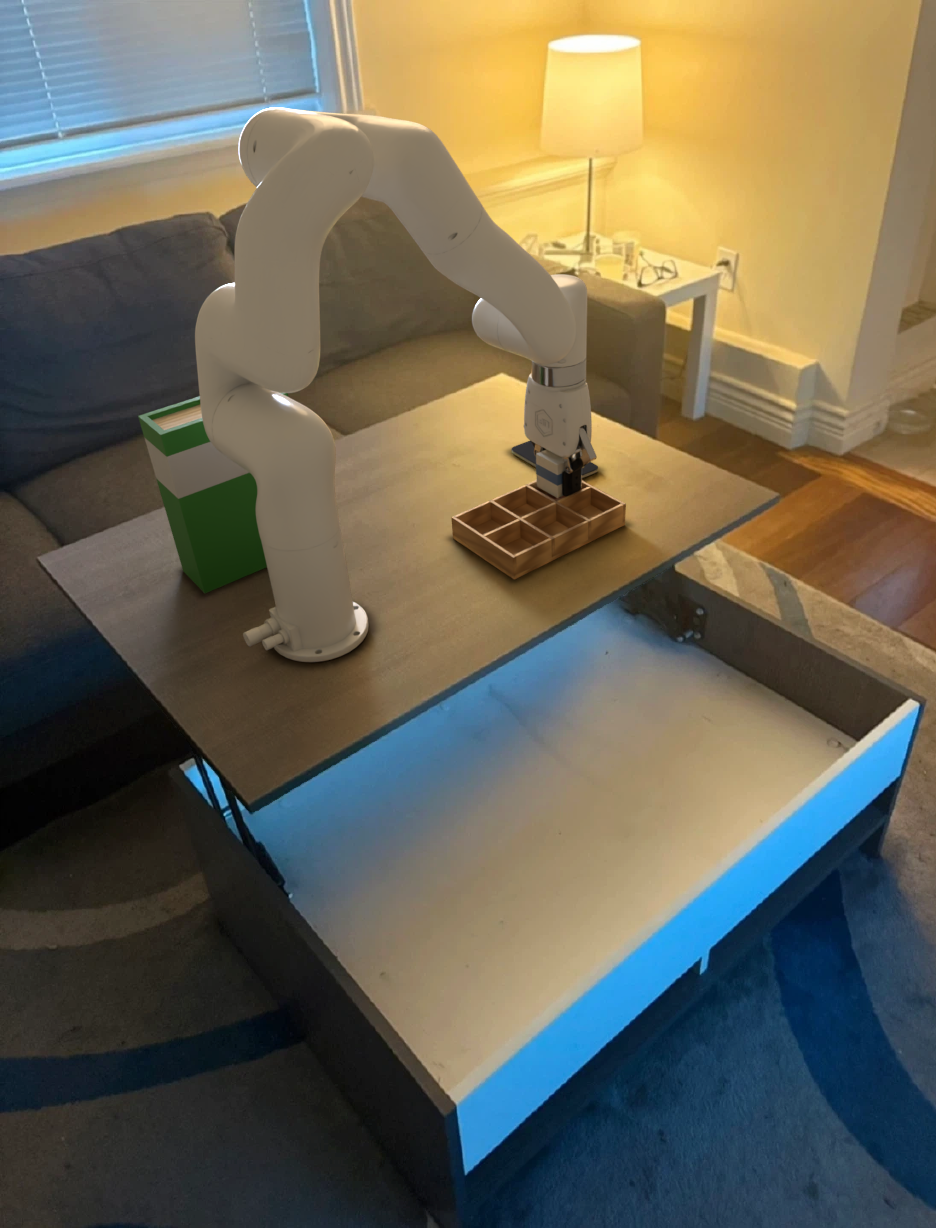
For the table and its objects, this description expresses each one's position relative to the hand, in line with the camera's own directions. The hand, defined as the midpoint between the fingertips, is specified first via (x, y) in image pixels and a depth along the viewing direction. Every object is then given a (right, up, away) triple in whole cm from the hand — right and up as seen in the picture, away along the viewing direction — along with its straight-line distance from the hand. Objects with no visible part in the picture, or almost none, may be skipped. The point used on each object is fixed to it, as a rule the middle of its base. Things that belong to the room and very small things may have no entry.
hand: (559, 484), depth 142 cm
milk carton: (0, 0, 0) cm, 0 cm away
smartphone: (0, +5, +14) cm, 15 cm away
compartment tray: (-3, -7, -3) cm, 9 cm away
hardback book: (-45, -11, -4) cm, 47 cm away
